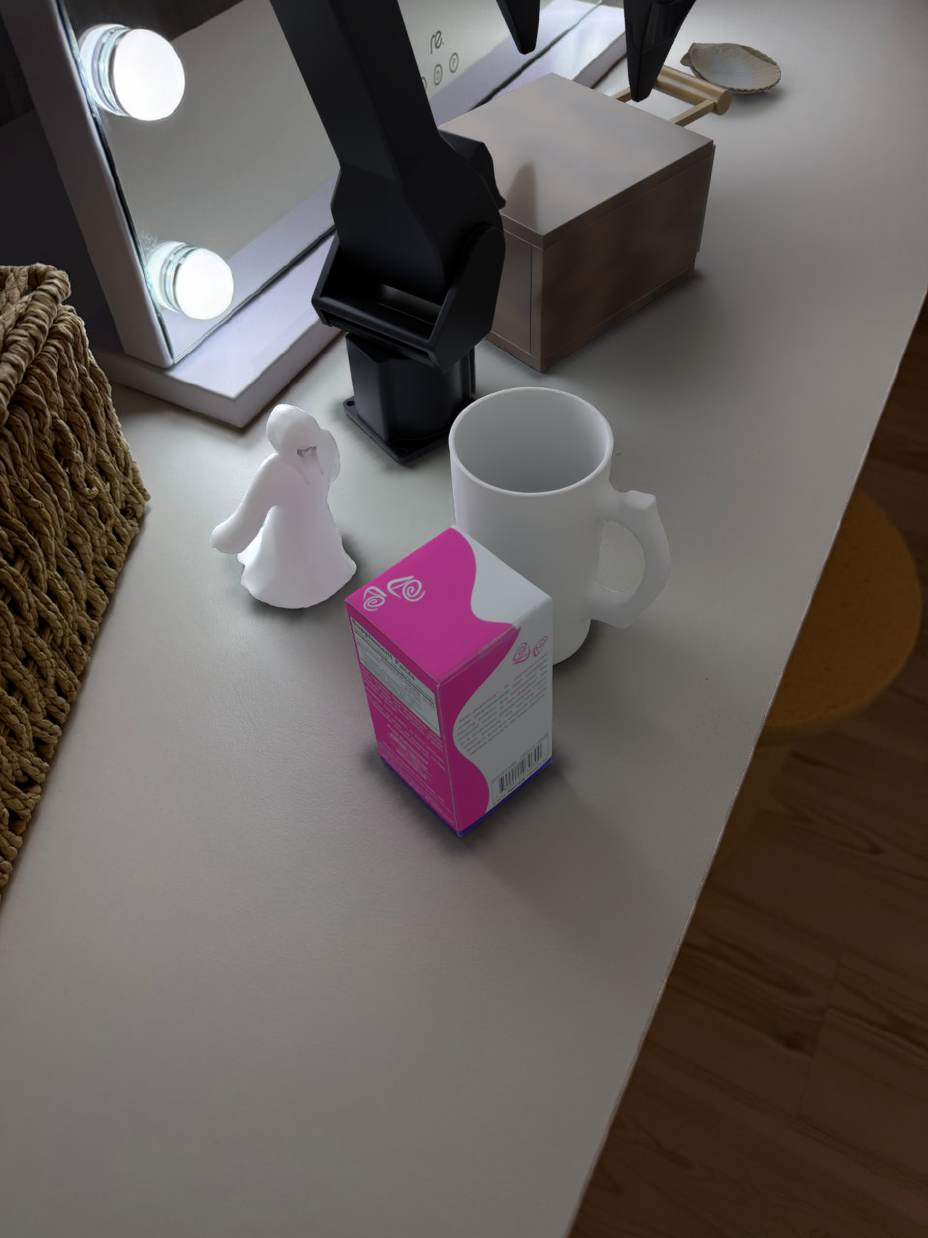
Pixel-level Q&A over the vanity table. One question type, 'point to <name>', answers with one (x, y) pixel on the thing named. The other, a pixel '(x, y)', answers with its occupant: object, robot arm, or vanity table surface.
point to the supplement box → (457, 675)
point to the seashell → (732, 66)
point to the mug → (552, 504)
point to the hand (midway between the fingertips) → (581, 74)
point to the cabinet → (585, 211)
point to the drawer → (694, 93)
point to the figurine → (290, 517)
